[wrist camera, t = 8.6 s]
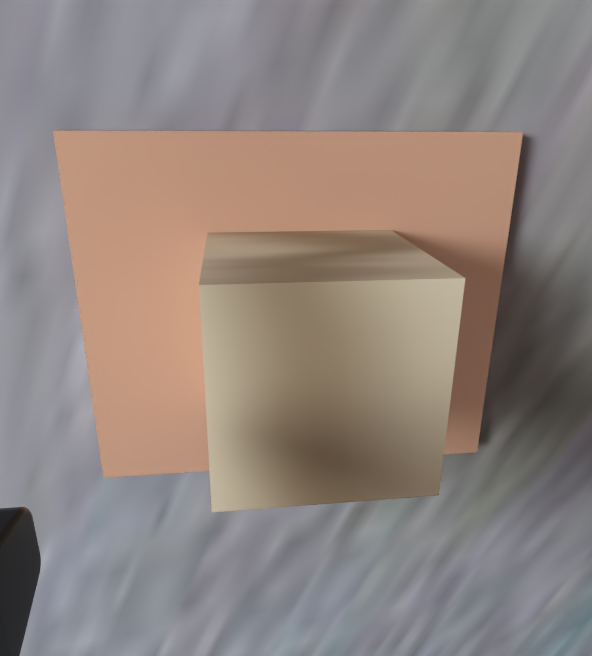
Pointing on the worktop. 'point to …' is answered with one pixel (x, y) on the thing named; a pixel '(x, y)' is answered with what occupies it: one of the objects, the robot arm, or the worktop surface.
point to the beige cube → (325, 366)
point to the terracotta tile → (259, 216)
